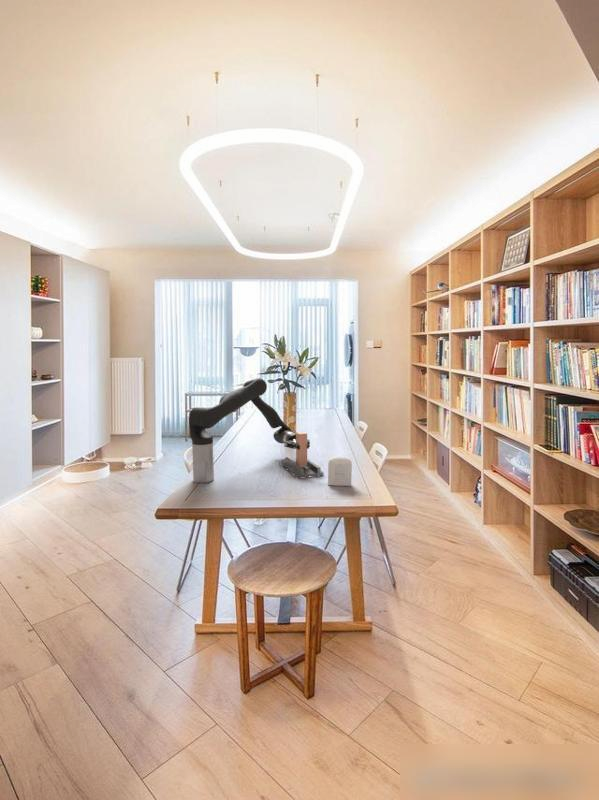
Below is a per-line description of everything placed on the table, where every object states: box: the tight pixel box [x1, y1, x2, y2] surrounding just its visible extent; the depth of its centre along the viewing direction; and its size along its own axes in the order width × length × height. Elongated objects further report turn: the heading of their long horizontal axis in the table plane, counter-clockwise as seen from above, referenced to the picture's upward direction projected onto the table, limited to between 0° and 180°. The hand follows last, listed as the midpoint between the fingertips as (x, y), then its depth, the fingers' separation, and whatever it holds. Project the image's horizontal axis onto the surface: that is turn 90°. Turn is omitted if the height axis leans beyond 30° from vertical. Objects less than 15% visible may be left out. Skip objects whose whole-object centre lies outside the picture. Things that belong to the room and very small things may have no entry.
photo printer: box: [327, 456, 353, 487], centre depth 182 cm, size 10×4×12 cm, turn 85°
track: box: [281, 456, 324, 479], centre depth 205 cm, size 24×13×4 cm, turn 20°
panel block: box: [295, 431, 308, 466], centre depth 204 cm, size 4×5×16 cm
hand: (303, 447), depth 201 cm, fingers closed on panel block, 4 cm apart
